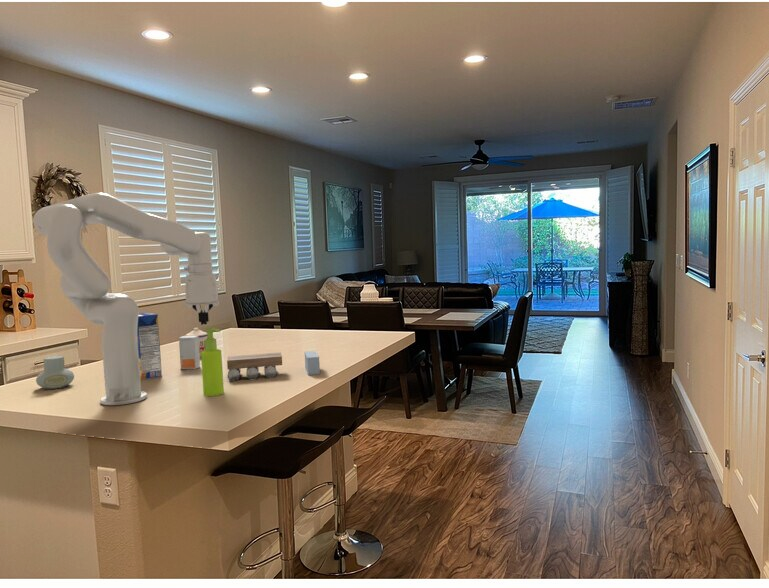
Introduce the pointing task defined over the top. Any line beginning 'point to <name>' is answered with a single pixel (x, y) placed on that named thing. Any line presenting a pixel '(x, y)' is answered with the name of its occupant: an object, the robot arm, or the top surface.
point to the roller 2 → (270, 371)
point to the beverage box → (148, 346)
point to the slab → (254, 360)
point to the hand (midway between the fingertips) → (204, 323)
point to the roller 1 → (234, 374)
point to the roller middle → (252, 373)
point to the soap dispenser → (212, 366)
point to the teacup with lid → (201, 336)
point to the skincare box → (189, 352)
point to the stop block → (312, 363)
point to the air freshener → (54, 374)
